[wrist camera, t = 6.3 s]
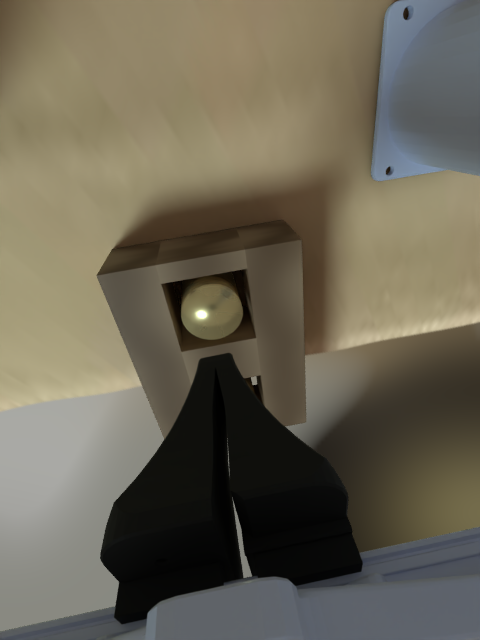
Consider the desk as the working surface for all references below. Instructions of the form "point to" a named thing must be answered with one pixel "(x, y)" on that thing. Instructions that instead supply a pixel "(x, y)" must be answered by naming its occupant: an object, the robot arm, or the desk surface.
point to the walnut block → (244, 343)
